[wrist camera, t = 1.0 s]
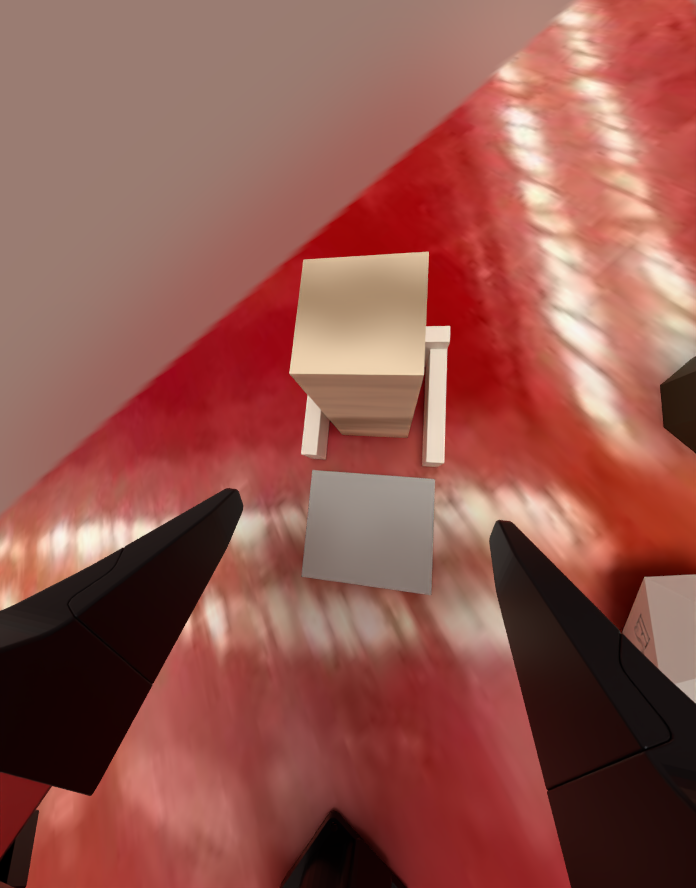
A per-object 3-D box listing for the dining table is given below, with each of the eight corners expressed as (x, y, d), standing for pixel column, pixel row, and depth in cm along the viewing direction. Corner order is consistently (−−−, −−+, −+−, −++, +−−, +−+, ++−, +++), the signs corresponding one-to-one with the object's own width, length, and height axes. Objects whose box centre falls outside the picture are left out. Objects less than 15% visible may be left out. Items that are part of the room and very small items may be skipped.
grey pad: (430, 593, 20) (431, 595, 20) (302, 575, 22) (301, 576, 22) (434, 479, 22) (434, 479, 22) (313, 470, 24) (312, 470, 23)
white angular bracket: (437, 466, 22) (446, 461, 18) (312, 458, 24) (296, 452, 20) (440, 353, 24) (450, 326, 20) (323, 353, 25) (310, 328, 21)
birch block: (407, 438, 23) (423, 375, 11) (342, 434, 24) (289, 373, 12) (410, 375, 24) (428, 251, 12) (347, 374, 25) (303, 259, 12)
